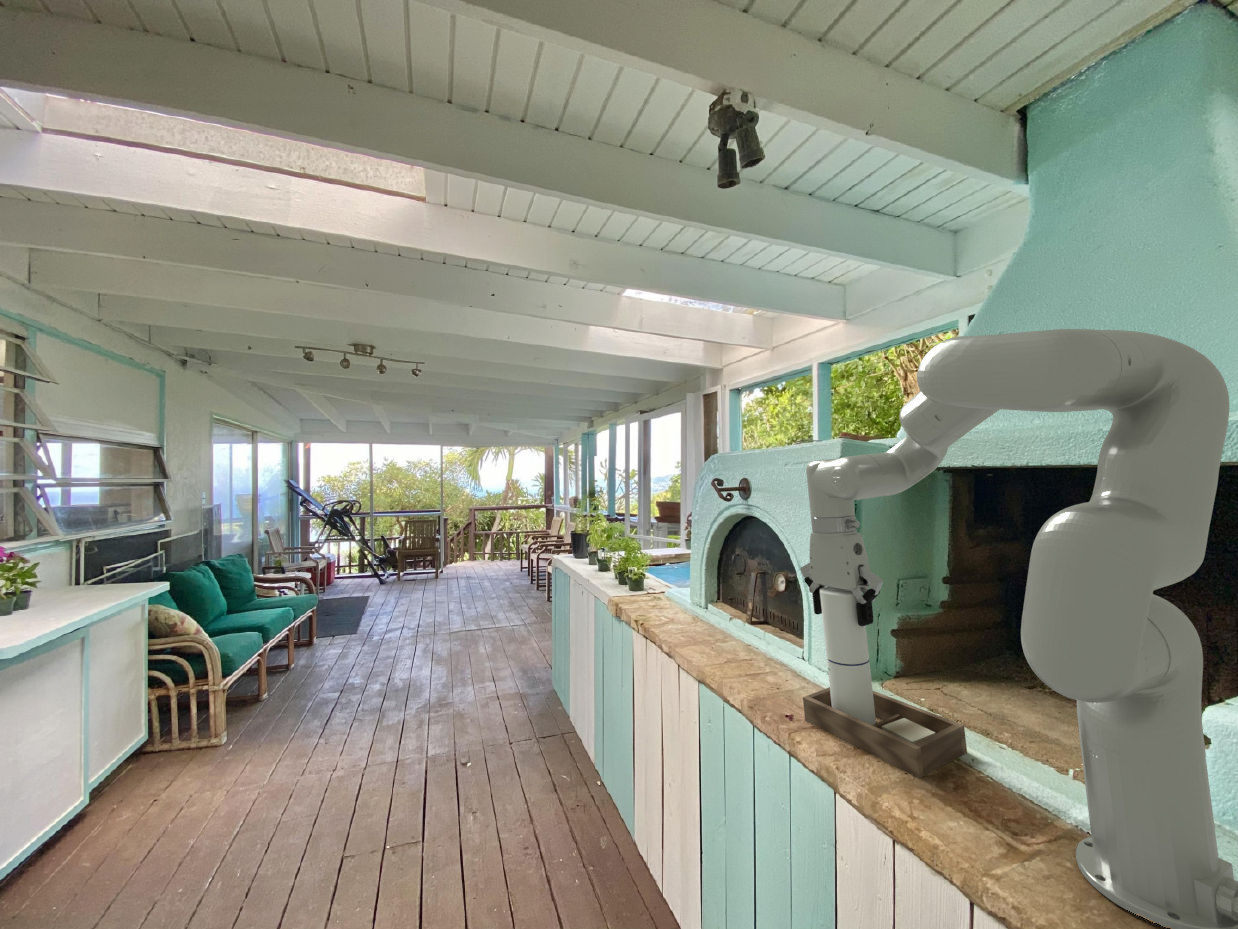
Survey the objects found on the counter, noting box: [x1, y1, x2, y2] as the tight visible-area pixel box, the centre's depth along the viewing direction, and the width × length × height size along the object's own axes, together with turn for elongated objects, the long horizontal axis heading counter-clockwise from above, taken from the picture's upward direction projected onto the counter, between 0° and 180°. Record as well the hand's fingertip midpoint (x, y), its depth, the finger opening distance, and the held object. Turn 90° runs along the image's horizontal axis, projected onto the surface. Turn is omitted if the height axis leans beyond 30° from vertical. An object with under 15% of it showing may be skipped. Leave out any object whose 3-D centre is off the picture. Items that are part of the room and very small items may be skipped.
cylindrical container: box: [820, 586, 877, 725], centre depth 91 cm, size 7×7×25 cm
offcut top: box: [882, 718, 936, 744], centre depth 81 cm, size 6×5×2 cm
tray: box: [802, 686, 968, 779], centre depth 86 cm, size 22×12×5 cm, turn 26°
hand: (842, 618), depth 91 cm, fingers open, 9 cm apart
